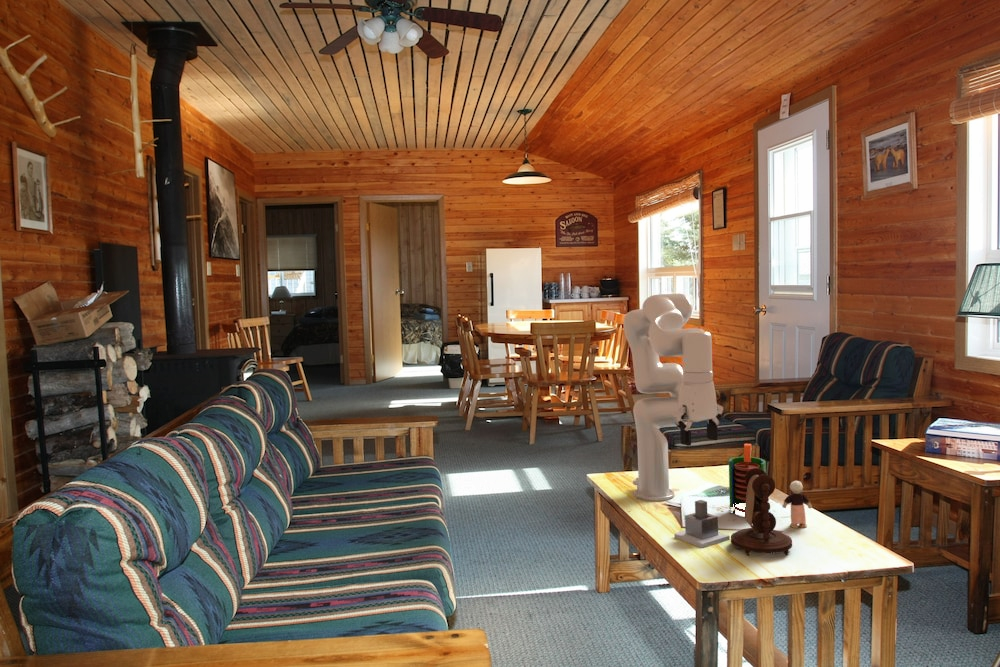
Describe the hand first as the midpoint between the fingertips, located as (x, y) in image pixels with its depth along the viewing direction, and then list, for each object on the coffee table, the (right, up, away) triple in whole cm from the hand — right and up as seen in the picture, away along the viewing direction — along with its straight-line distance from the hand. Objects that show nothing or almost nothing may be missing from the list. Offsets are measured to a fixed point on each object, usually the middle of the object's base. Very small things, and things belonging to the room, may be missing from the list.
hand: (699, 441), depth 198 cm
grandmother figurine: (+29, -25, +8) cm, 39 cm away
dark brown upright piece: (+14, -26, -7) cm, 31 cm away
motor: (+20, -24, +21) cm, 38 cm away
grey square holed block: (+1, -25, +2) cm, 25 cm away
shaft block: (+1, -26, +2) cm, 26 cm away
